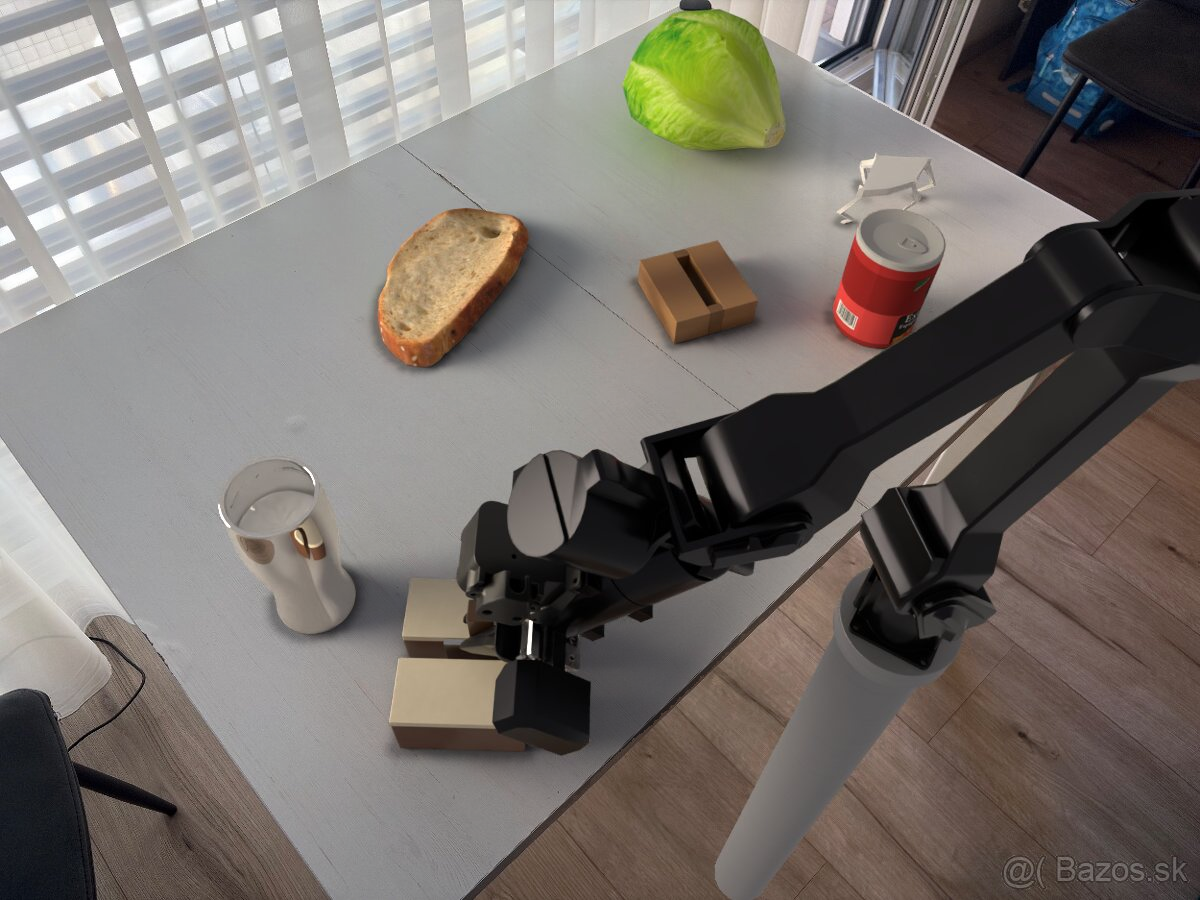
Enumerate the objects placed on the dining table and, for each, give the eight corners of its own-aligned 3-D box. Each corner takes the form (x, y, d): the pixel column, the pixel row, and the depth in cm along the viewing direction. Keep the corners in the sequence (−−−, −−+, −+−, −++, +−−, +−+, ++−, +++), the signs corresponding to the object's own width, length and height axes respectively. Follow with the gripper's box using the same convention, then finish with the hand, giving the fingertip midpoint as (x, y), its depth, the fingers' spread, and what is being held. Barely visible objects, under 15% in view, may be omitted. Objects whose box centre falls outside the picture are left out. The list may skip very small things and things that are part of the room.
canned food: (903, 360, 93) (939, 276, 84) (822, 336, 94) (848, 251, 85) (917, 306, 97) (953, 221, 88) (839, 285, 98) (866, 198, 89)
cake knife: (533, 667, 73) (527, 600, 64) (531, 687, 72) (525, 622, 63) (453, 665, 73) (436, 598, 64) (451, 685, 72) (433, 620, 63)
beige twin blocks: (533, 612, 76) (532, 581, 72) (525, 751, 70) (522, 726, 65) (419, 609, 76) (410, 577, 72) (399, 748, 69) (389, 722, 65)
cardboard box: (753, 322, 95) (758, 300, 93) (673, 344, 93) (676, 322, 91) (714, 262, 100) (717, 239, 97) (637, 282, 98) (639, 260, 95)
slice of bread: (398, 377, 90) (392, 350, 87) (345, 253, 99) (338, 224, 96) (576, 322, 94) (576, 295, 91) (509, 209, 104) (507, 180, 101)
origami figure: (869, 166, 110) (881, 129, 106) (934, 199, 107) (949, 163, 103) (811, 218, 104) (820, 181, 100) (878, 255, 101) (890, 218, 97)
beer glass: (320, 656, 73) (271, 558, 61) (252, 611, 75) (191, 507, 63) (379, 587, 77) (344, 481, 65) (313, 546, 79) (267, 436, 67)
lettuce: (720, 208, 105) (738, 97, 94) (591, 123, 113) (594, 13, 102) (808, 148, 111) (835, 39, 100) (680, 72, 120) (692, -37, 109)
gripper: (543, 377, 59) (390, 475, 68) (524, 666, 48) (344, 737, 57) (663, 455, 65) (509, 535, 74) (670, 726, 54) (488, 782, 63)
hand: (466, 635), depth 67 cm, fingers closed on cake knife, 2 cm apart
